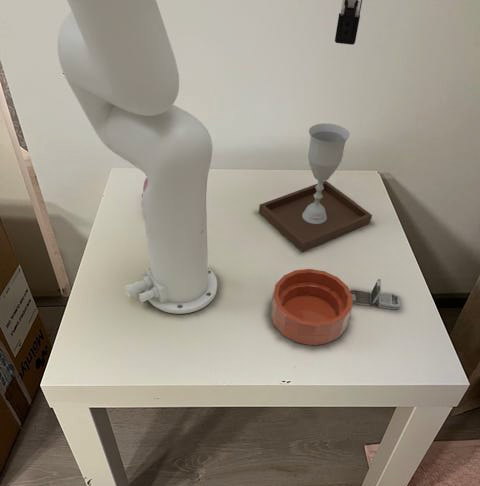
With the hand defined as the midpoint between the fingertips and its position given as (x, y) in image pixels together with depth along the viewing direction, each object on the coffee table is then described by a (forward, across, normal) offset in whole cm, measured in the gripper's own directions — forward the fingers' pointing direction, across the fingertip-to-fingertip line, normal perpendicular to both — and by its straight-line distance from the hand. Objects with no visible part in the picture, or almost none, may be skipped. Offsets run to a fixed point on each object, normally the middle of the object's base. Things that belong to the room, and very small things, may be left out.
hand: (346, 32), depth 80 cm
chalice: (+32, +7, 0) cm, 33 cm away
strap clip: (+32, +28, +13) cm, 45 cm away
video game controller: (+32, +11, -32) cm, 47 cm away
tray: (+32, +7, 0) cm, 33 cm away
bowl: (+32, +35, +2) cm, 47 cm away
